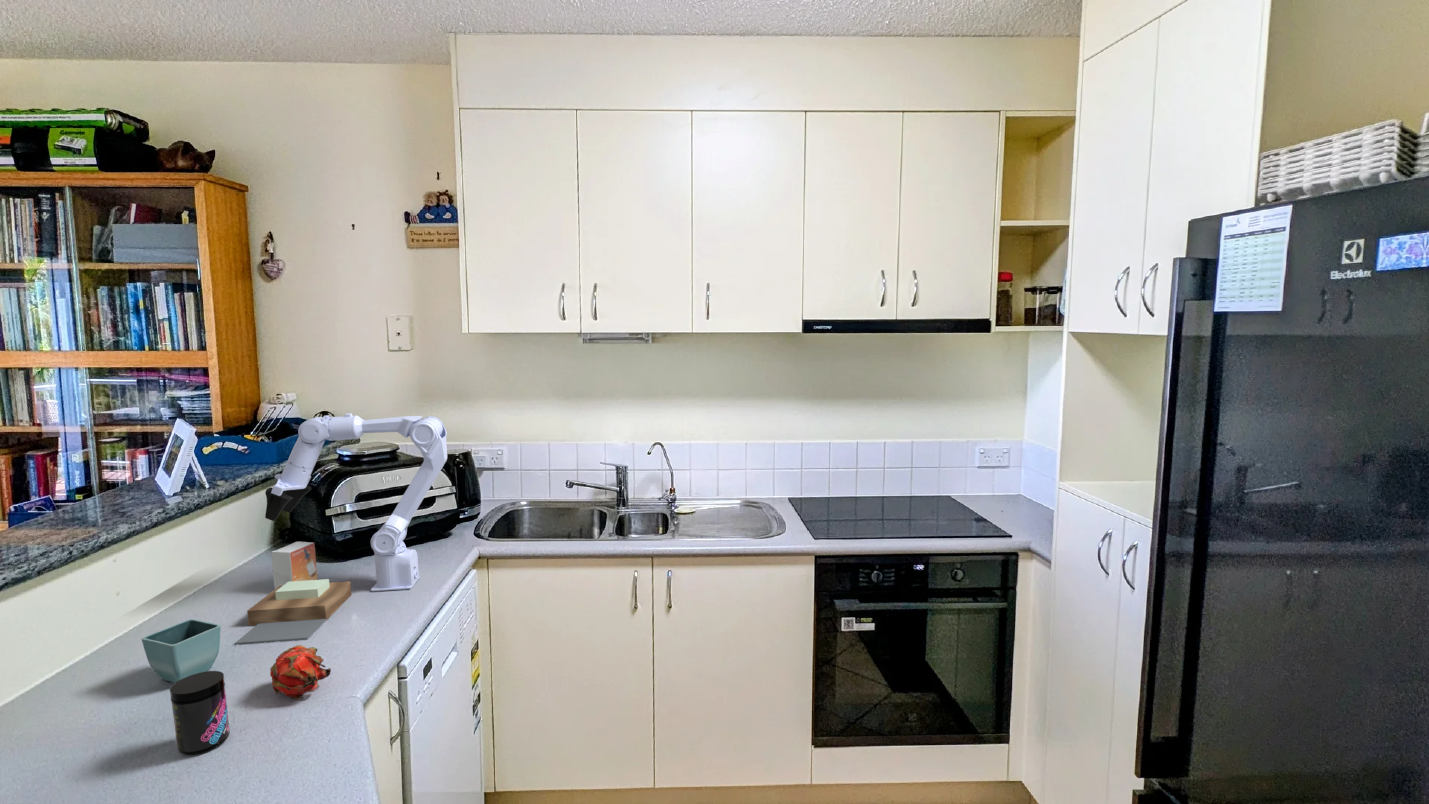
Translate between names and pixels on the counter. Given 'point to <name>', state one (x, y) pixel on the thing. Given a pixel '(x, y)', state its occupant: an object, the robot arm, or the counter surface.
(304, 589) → the sage green block
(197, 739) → the supplement container
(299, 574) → the small box
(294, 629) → the mat
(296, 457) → the robot arm
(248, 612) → the brown flat block
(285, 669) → the dragon fruit
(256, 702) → the counter surface
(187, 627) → the flower pot
